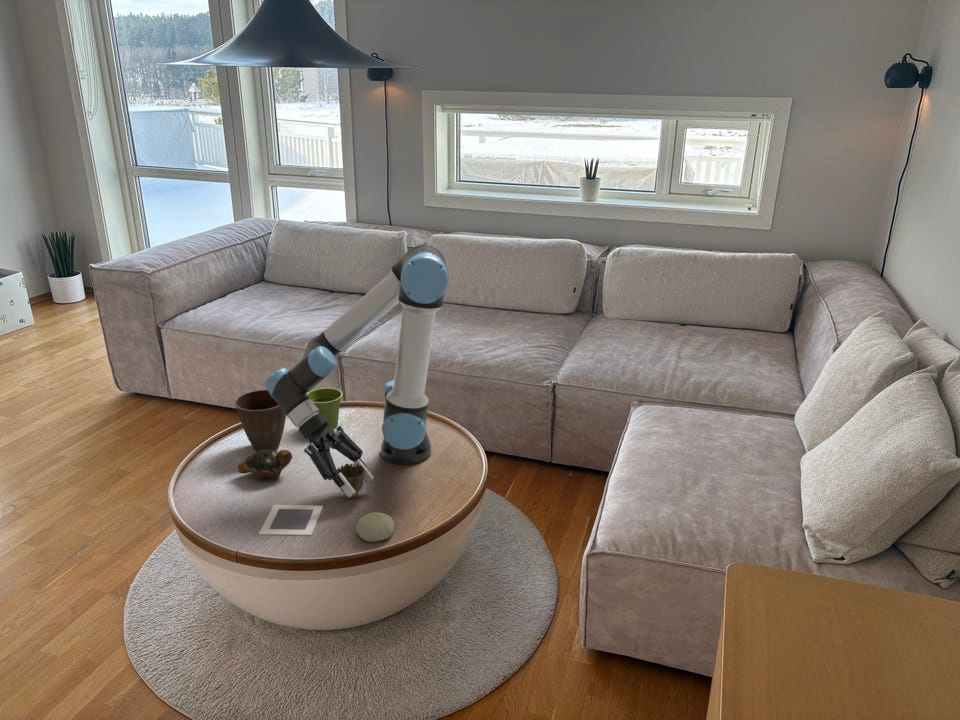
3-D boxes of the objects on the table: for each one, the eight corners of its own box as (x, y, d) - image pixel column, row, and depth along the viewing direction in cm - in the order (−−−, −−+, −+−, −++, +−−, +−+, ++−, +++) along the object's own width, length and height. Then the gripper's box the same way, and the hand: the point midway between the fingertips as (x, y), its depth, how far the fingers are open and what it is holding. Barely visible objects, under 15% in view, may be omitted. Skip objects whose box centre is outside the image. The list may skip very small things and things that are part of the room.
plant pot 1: (291, 456, 213) (287, 407, 207) (239, 461, 209) (233, 412, 204) (291, 434, 226) (287, 387, 221) (242, 439, 223) (236, 392, 217)
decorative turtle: (294, 481, 199) (290, 456, 196) (238, 490, 197) (233, 465, 193) (295, 463, 208) (291, 439, 205) (241, 471, 205) (236, 447, 202)
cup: (369, 490, 195) (368, 464, 192) (359, 504, 188) (357, 478, 185) (344, 487, 196) (342, 461, 194) (333, 501, 190) (331, 474, 187)
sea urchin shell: (397, 536, 172) (372, 517, 169) (375, 557, 173) (350, 538, 171) (398, 515, 180) (374, 497, 178) (376, 535, 182) (353, 517, 179)
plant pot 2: (308, 420, 236) (305, 388, 232) (344, 417, 238) (342, 386, 234) (306, 436, 225) (303, 403, 221) (344, 433, 227) (342, 401, 223)
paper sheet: (323, 506, 187) (323, 505, 187) (311, 535, 175) (311, 534, 175) (273, 505, 187) (273, 504, 187) (258, 534, 175) (258, 533, 175)
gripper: (325, 413, 201) (375, 476, 200) (275, 442, 184) (330, 512, 183) (339, 399, 197) (390, 464, 196) (290, 428, 180) (345, 499, 179)
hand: (361, 487), depth 190 cm, fingers closed on cup, 7 cm apart
